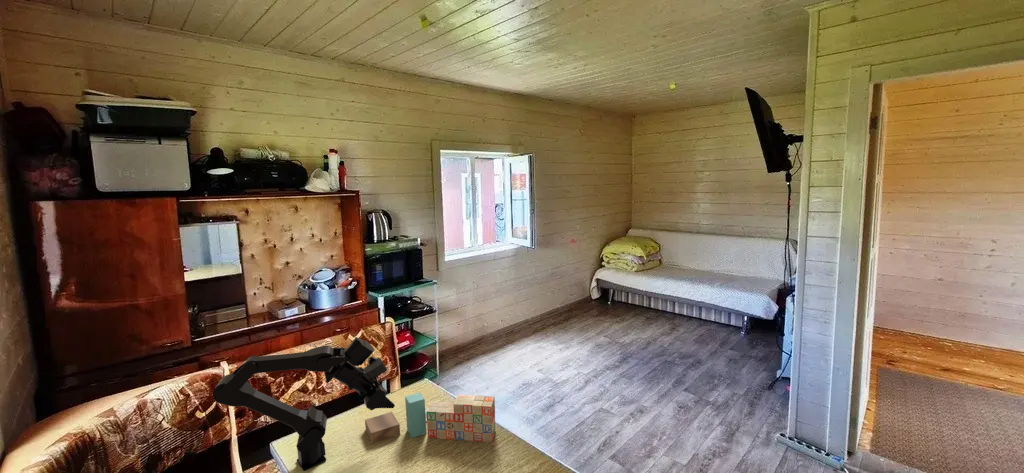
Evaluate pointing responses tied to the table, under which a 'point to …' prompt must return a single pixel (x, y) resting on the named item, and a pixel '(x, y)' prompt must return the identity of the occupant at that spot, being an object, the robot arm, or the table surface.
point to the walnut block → (382, 427)
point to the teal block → (415, 414)
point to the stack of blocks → (463, 418)
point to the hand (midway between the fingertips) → (390, 400)
